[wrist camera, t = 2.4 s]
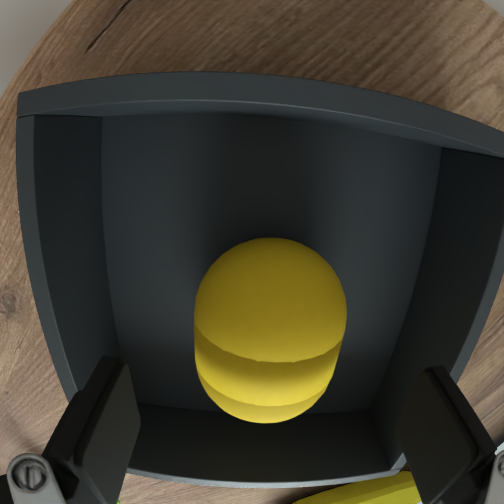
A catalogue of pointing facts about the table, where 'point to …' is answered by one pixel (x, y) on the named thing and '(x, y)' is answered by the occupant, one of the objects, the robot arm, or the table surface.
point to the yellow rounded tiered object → (268, 329)
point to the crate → (248, 228)
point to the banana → (370, 492)
